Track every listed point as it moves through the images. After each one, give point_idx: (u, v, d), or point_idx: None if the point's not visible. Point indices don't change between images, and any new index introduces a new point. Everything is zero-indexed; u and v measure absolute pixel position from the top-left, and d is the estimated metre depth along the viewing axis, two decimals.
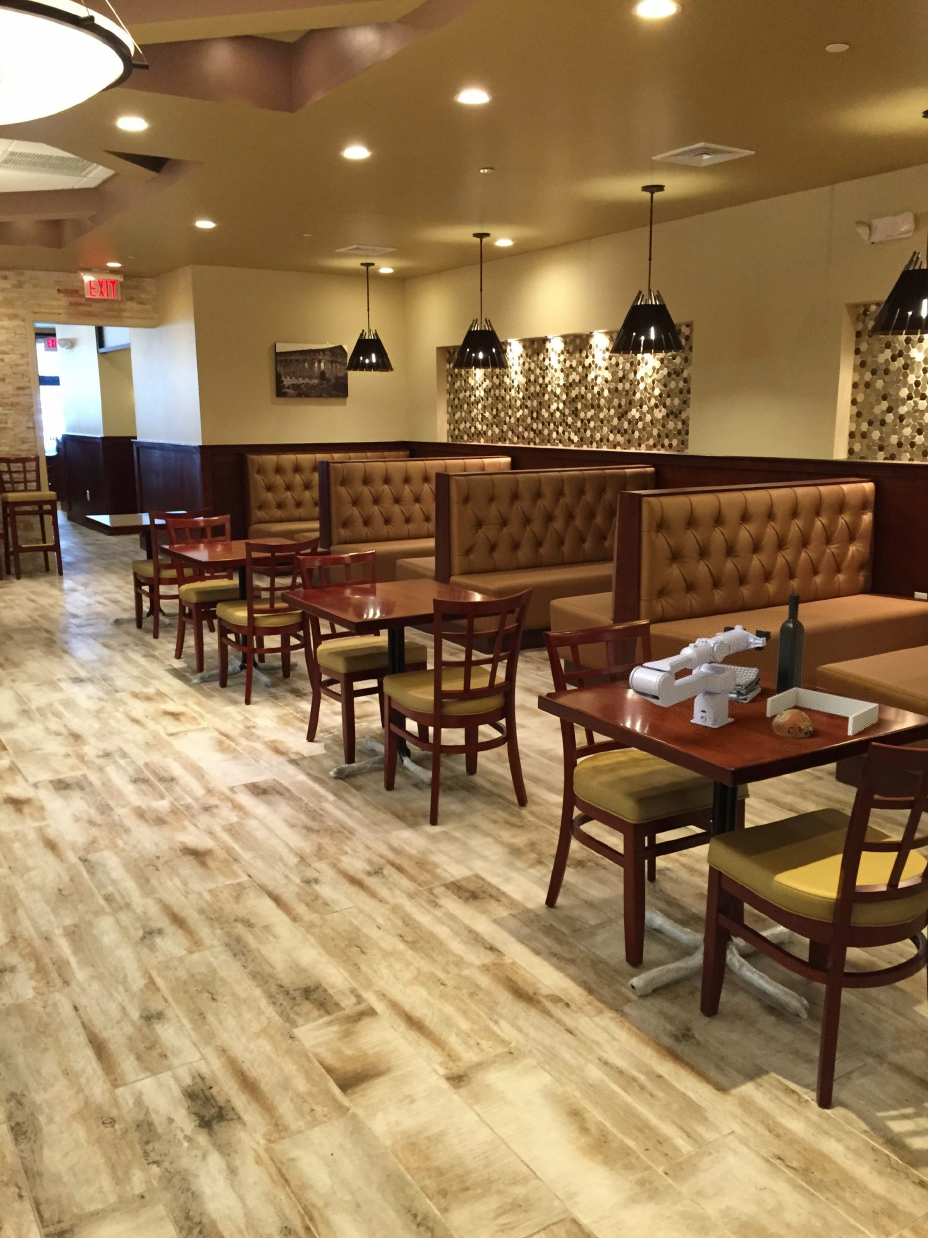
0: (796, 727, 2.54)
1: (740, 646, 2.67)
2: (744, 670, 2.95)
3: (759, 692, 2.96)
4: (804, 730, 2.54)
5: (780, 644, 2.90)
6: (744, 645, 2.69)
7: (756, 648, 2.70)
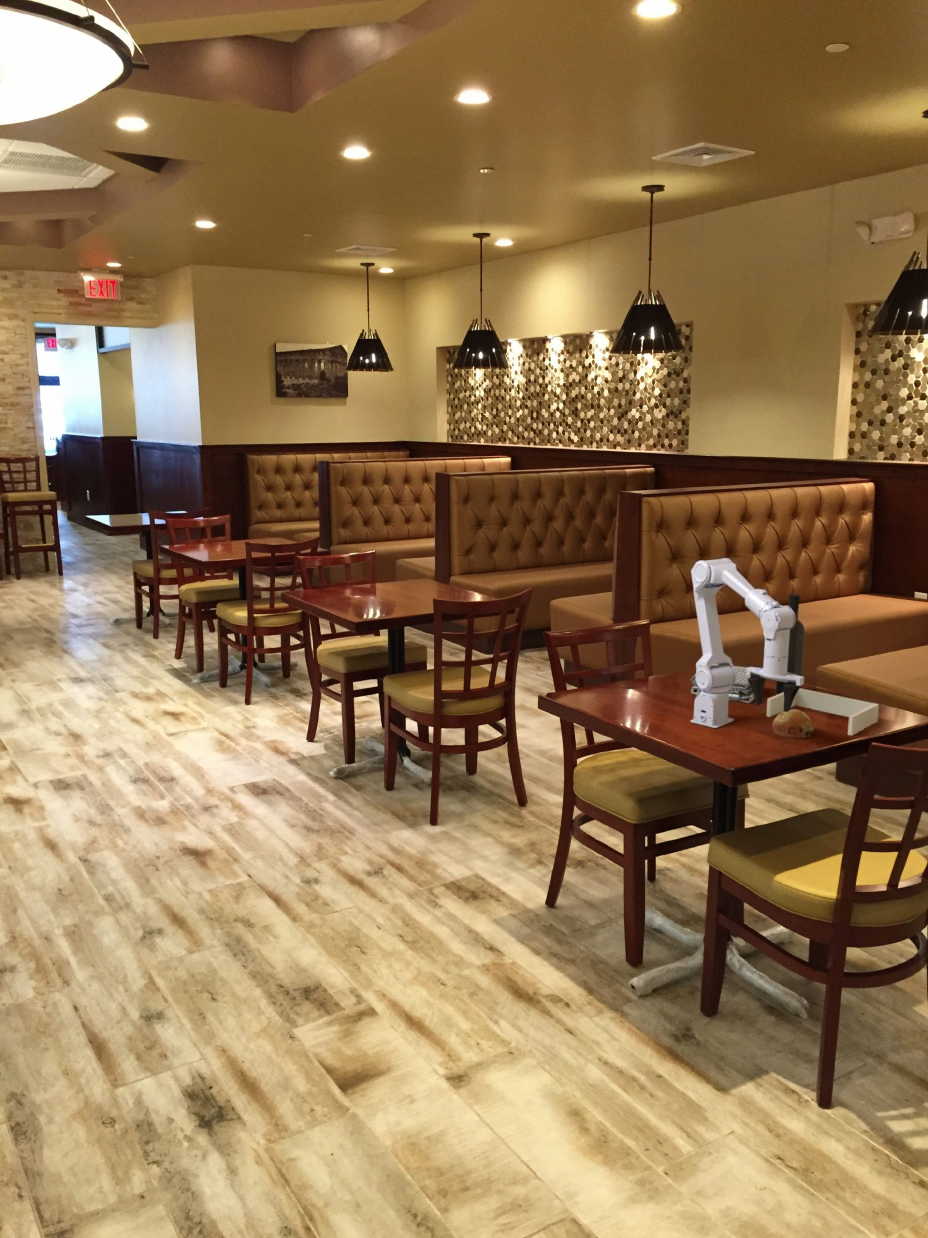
0: (796, 727, 2.54)
1: (784, 661, 2.44)
2: (746, 670, 2.95)
3: None
4: (805, 730, 2.54)
5: None
6: (783, 669, 2.44)
7: (785, 685, 2.43)
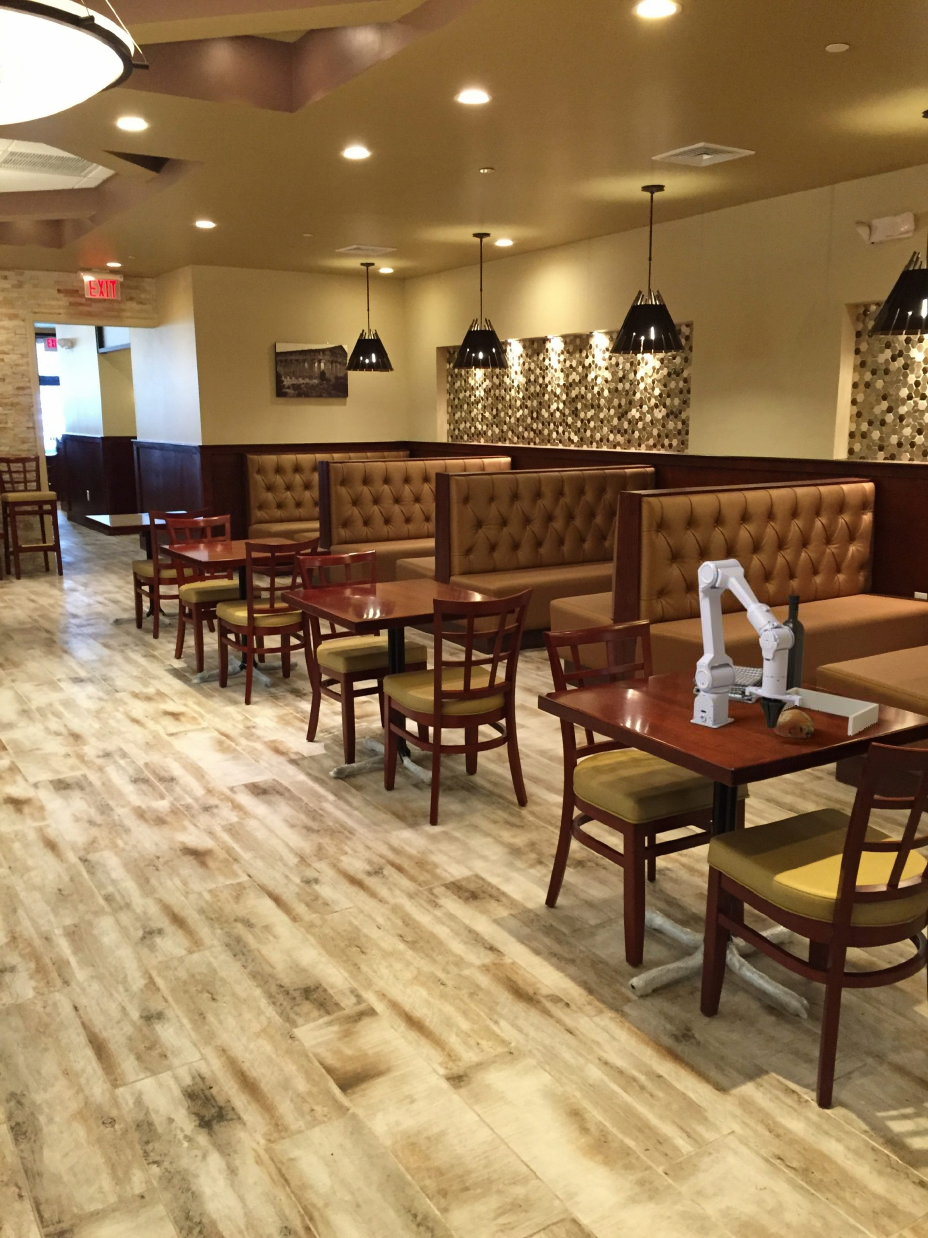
0: (797, 728, 2.54)
1: (783, 681, 2.45)
2: (748, 670, 2.95)
3: None
4: (805, 730, 2.54)
5: None
6: (782, 689, 2.45)
7: (771, 702, 2.47)
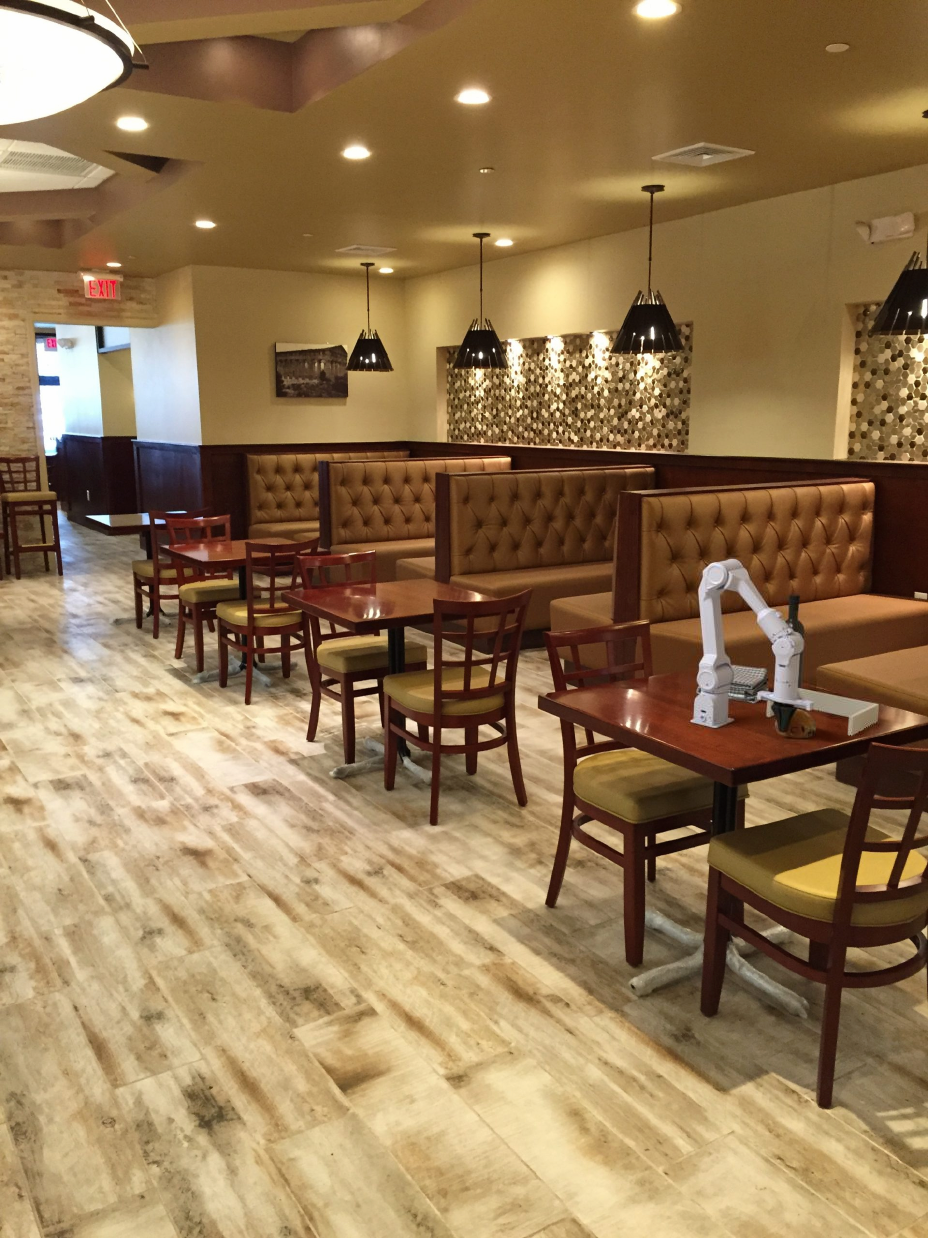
0: (798, 727, 2.54)
1: (794, 686, 2.50)
2: (751, 670, 2.95)
3: None
4: (807, 730, 2.54)
5: None
6: (793, 694, 2.50)
7: (782, 707, 2.51)
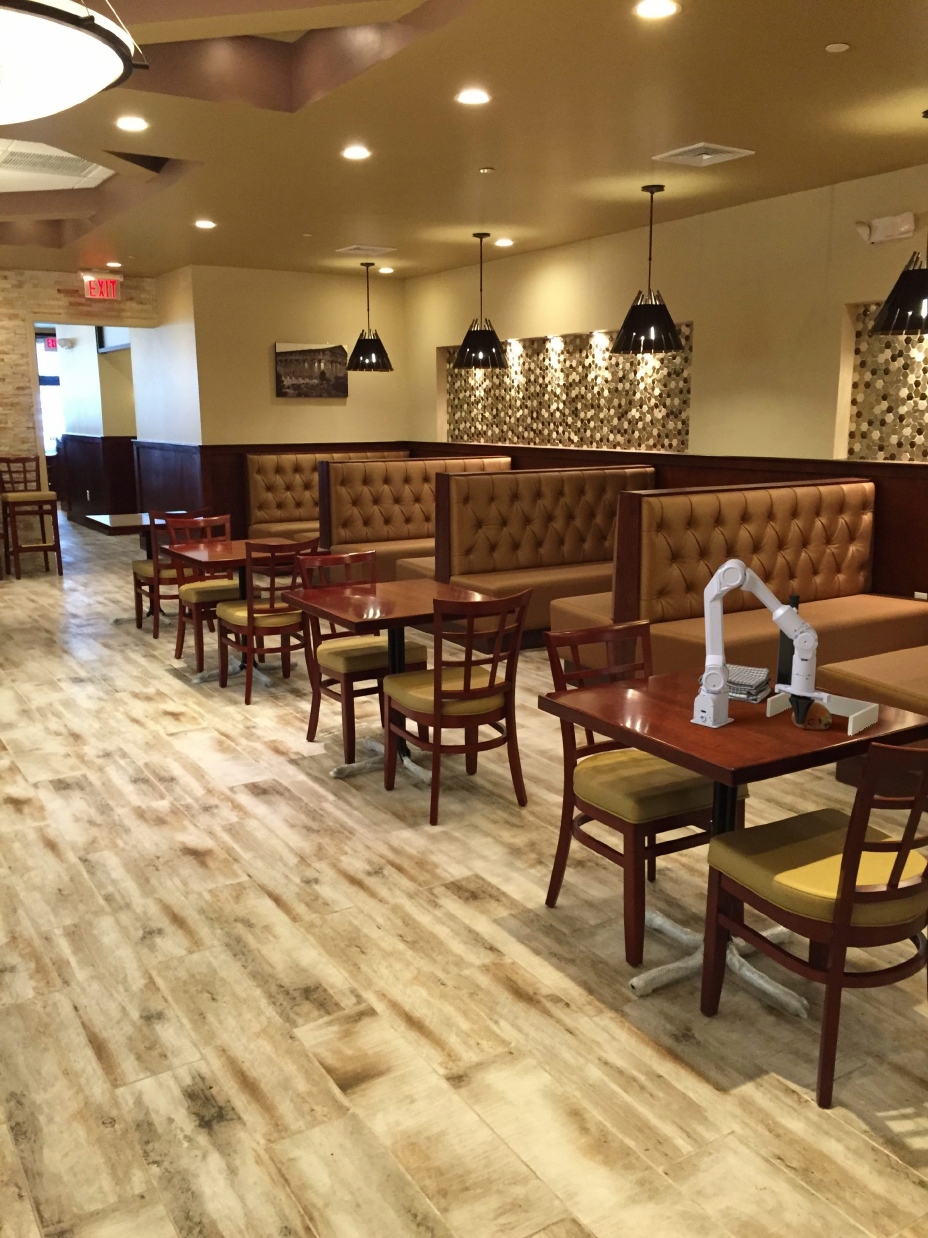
0: (815, 719, 2.61)
1: (812, 679, 2.56)
2: (754, 670, 2.95)
3: None
4: (823, 721, 2.60)
5: (780, 644, 2.90)
6: (810, 687, 2.57)
7: (800, 699, 2.58)
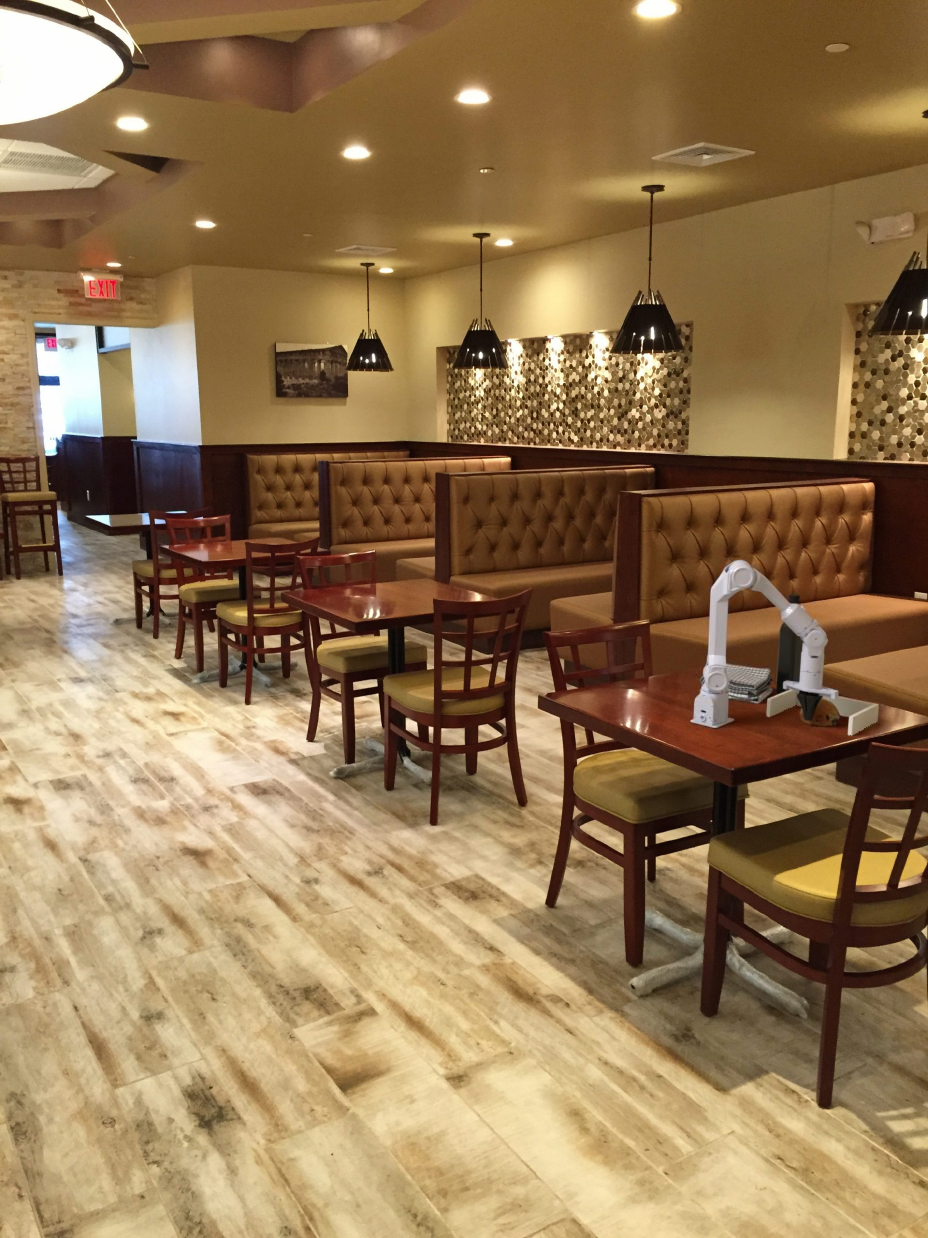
0: (823, 716, 2.64)
1: (820, 676, 2.60)
2: (755, 670, 2.94)
3: None
4: (831, 718, 2.64)
5: (780, 644, 2.90)
6: (818, 684, 2.60)
7: (808, 696, 2.61)
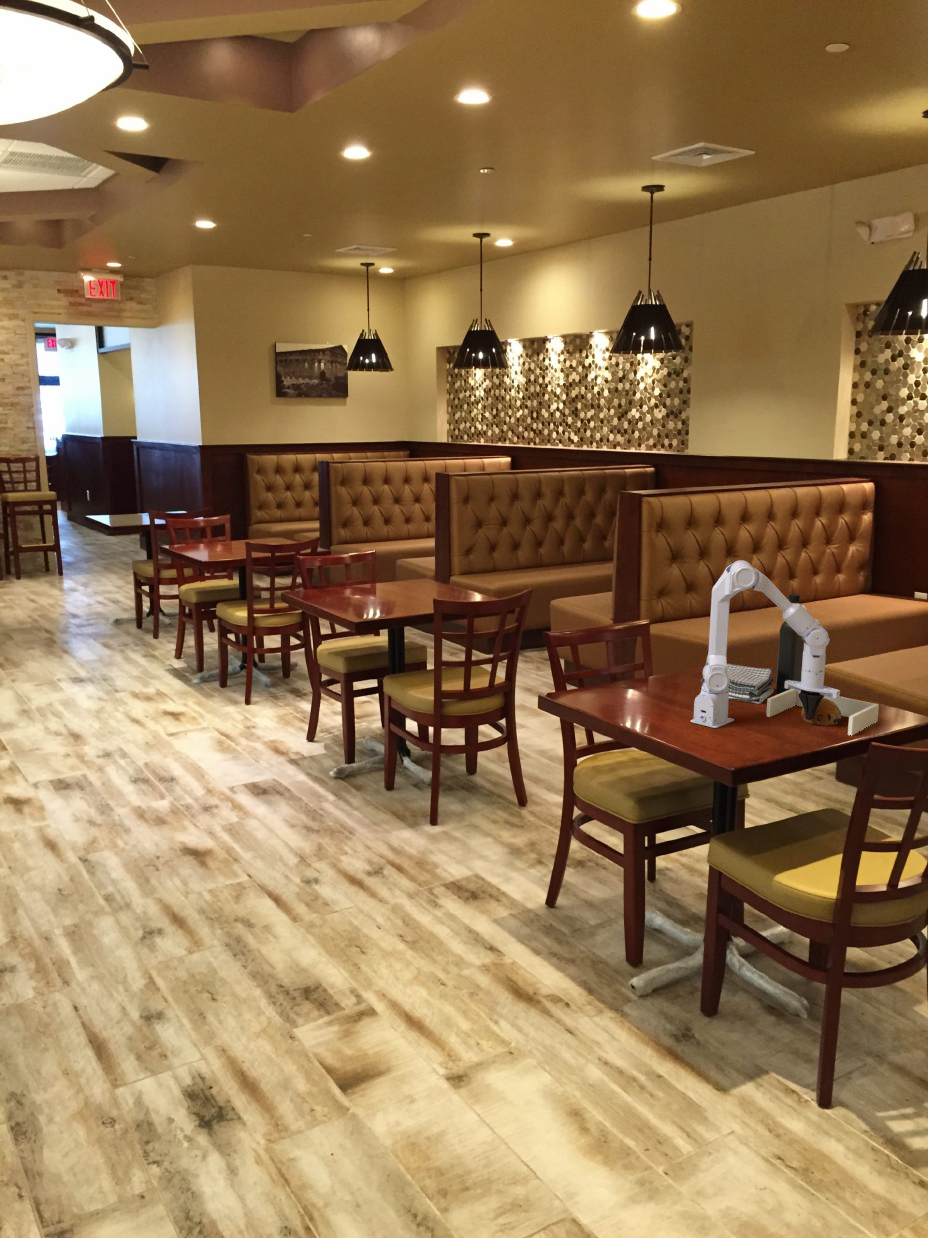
0: (825, 715, 2.64)
1: (821, 675, 2.60)
2: (756, 671, 2.94)
3: None
4: (833, 718, 2.64)
5: (780, 644, 2.90)
6: (820, 683, 2.60)
7: (809, 695, 2.62)
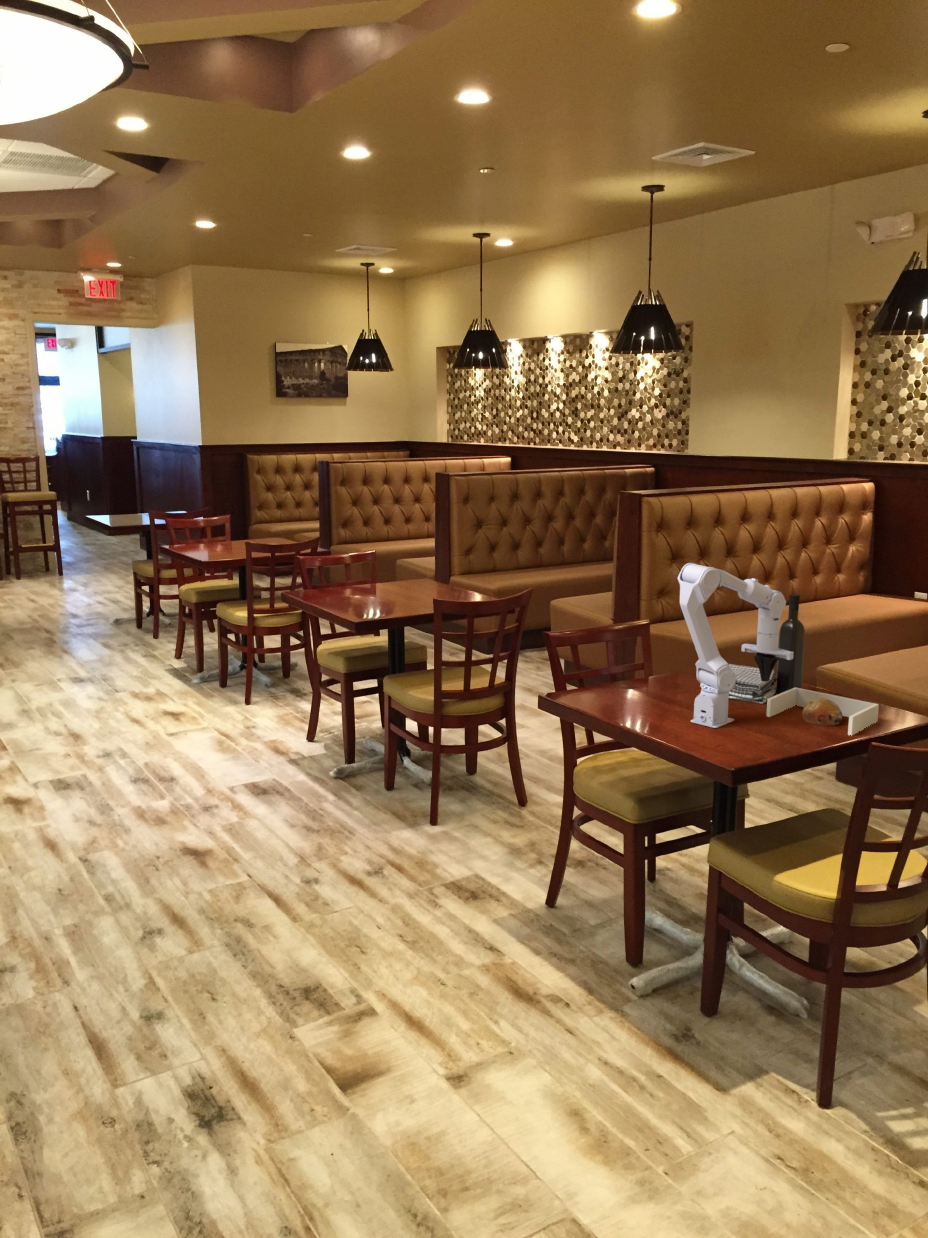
0: (826, 715, 2.64)
1: (775, 638, 2.69)
2: (759, 671, 2.94)
3: None
4: (834, 718, 2.64)
5: (780, 644, 2.90)
6: (774, 645, 2.69)
7: (764, 657, 2.70)
